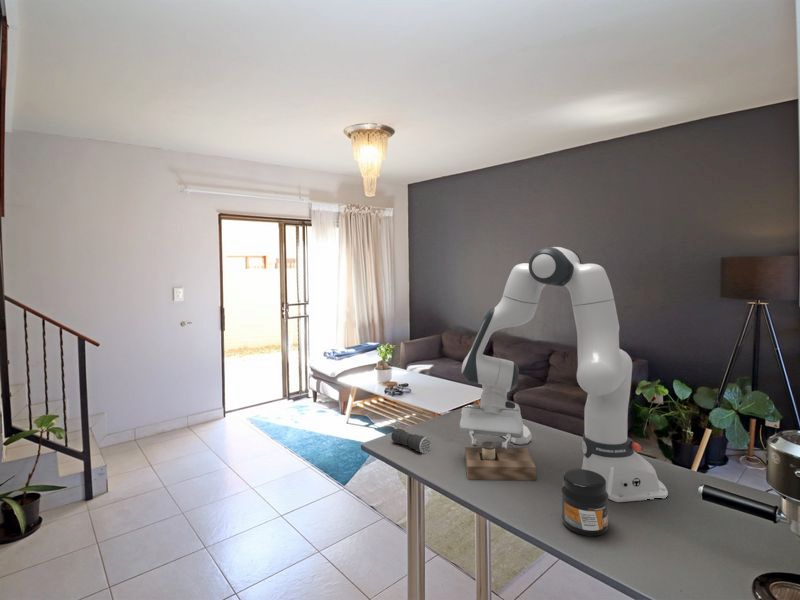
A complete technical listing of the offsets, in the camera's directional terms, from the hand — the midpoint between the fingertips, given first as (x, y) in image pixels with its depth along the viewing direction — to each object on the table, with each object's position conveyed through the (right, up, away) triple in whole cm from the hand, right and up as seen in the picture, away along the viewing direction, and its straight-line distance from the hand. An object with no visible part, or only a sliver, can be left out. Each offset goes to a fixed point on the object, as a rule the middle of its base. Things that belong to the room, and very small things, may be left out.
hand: (489, 447), depth 136 cm
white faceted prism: (+12, -5, +29) cm, 32 cm away
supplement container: (+17, -9, -30) cm, 36 cm away
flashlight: (-24, -7, +19) cm, 32 cm away
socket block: (+3, -7, 0) cm, 8 cm away
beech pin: (0, -7, +1) cm, 7 cm away
